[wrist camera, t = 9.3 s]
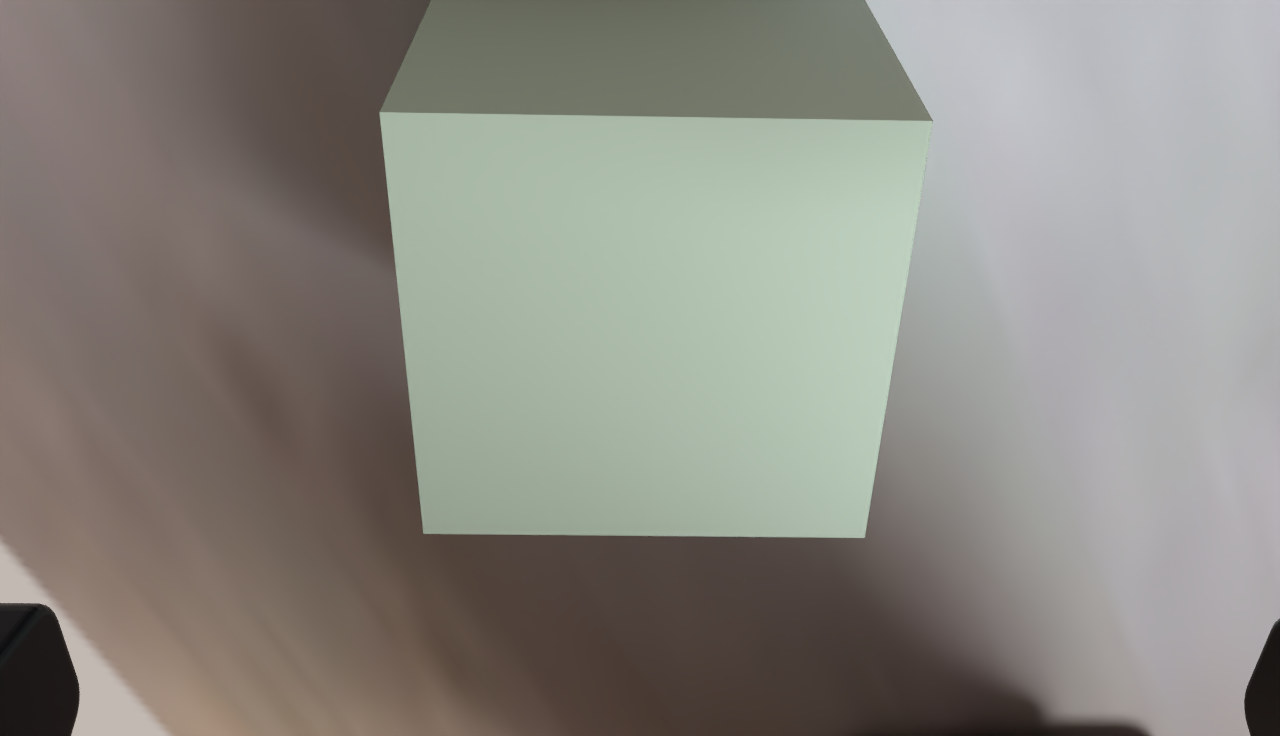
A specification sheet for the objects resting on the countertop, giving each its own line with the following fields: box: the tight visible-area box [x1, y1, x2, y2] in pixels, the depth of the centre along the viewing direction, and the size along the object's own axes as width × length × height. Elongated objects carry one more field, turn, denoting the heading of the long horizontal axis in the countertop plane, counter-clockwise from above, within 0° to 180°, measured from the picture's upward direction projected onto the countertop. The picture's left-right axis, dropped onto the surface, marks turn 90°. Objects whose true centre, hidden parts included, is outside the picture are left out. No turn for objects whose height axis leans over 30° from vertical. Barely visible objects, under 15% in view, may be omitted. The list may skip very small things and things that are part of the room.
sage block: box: [379, 0, 933, 538], centre depth 14 cm, size 5×5×5 cm
